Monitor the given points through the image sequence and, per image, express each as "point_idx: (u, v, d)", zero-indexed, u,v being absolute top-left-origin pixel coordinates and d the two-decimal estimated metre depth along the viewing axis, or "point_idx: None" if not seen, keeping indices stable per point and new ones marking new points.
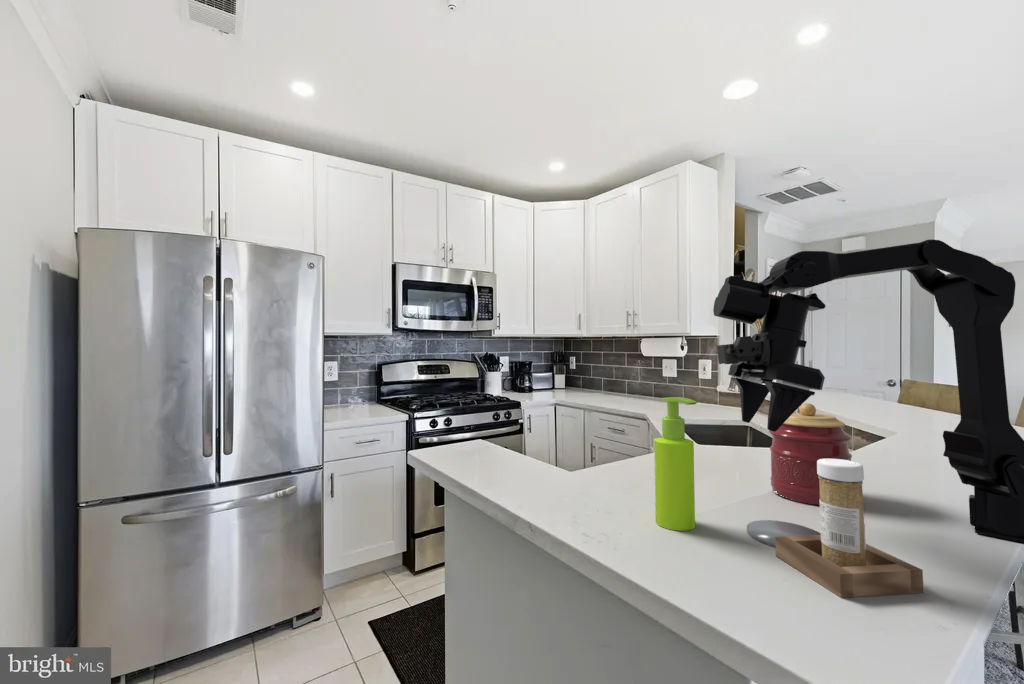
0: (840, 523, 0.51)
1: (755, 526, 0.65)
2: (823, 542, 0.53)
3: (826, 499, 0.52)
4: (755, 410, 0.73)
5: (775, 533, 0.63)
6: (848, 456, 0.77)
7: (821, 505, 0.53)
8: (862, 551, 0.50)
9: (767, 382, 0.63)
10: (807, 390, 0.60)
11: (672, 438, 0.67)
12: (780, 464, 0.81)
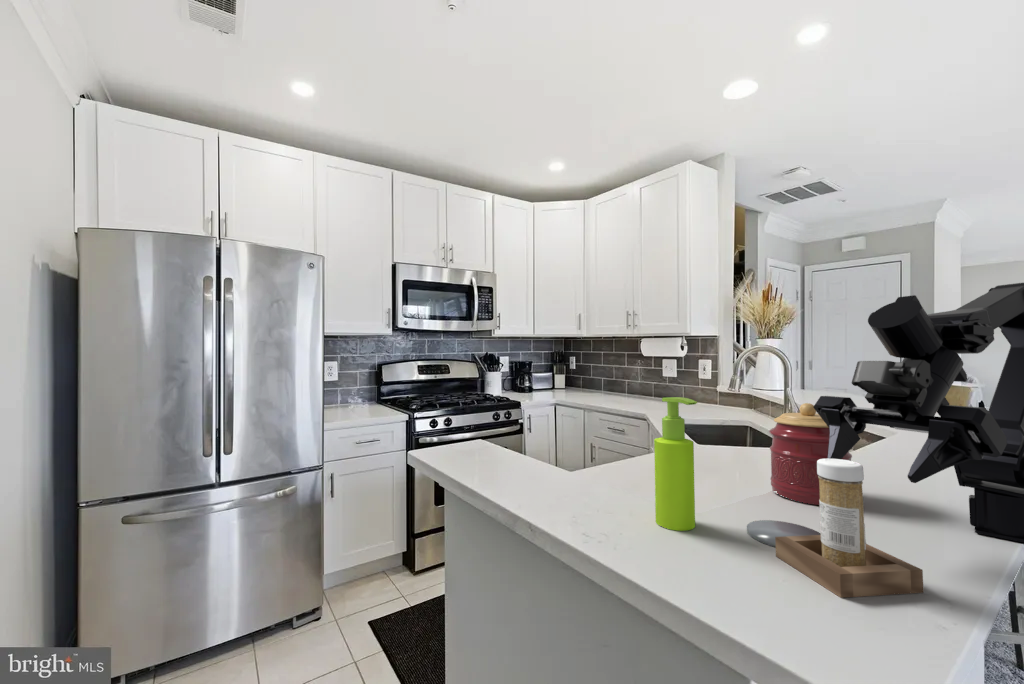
0: (840, 523, 0.51)
1: (755, 526, 0.65)
2: (823, 542, 0.53)
3: (826, 499, 0.52)
4: (843, 454, 0.59)
5: (775, 533, 0.63)
6: (848, 456, 0.77)
7: (821, 505, 0.53)
8: (862, 551, 0.50)
9: (941, 421, 0.50)
10: (980, 451, 0.49)
11: (672, 438, 0.67)
12: (780, 464, 0.81)
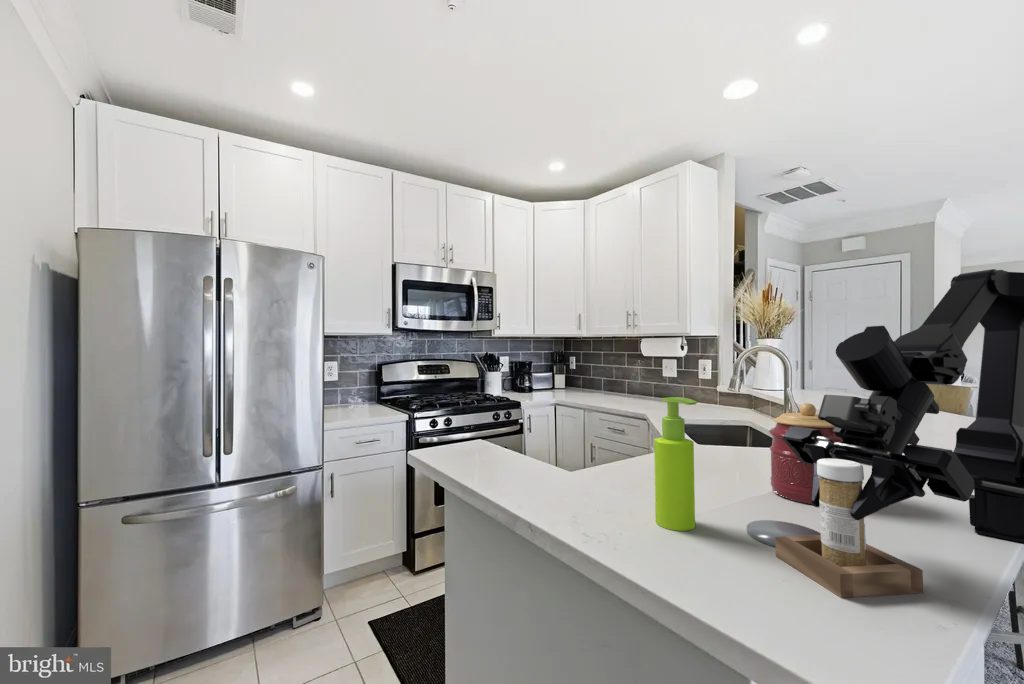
0: (840, 523, 0.51)
1: (755, 526, 0.65)
2: (823, 542, 0.53)
3: (826, 499, 0.52)
4: None
5: (775, 533, 0.63)
6: None
7: (821, 505, 0.53)
8: (862, 551, 0.50)
9: (883, 459, 0.49)
10: (921, 488, 0.49)
11: (672, 438, 0.67)
12: (780, 464, 0.81)
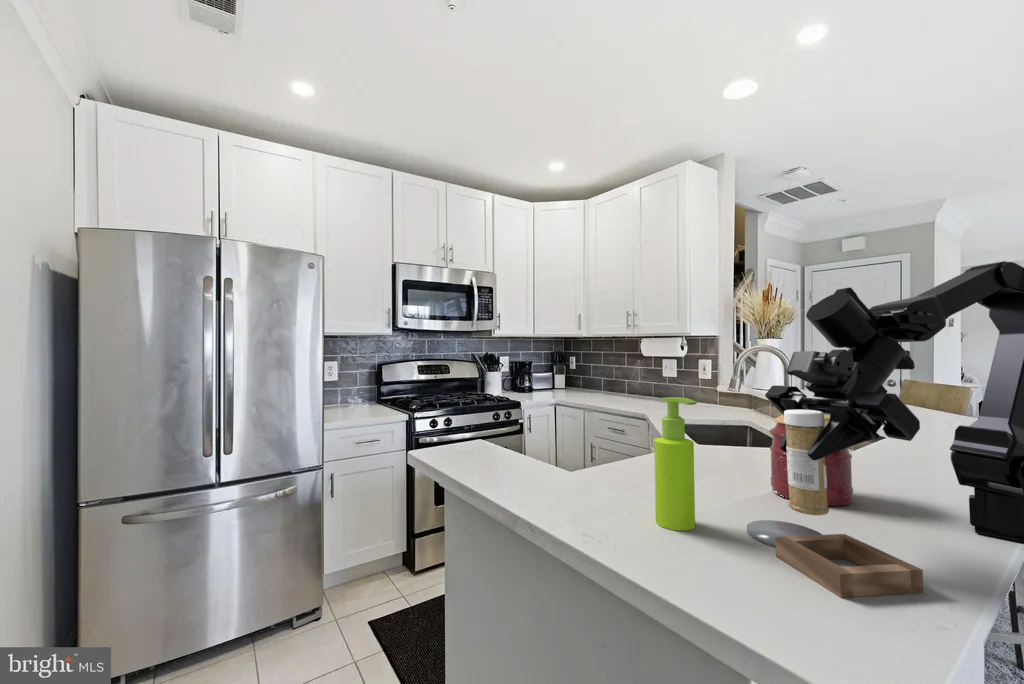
0: (800, 464, 0.57)
1: (755, 526, 0.65)
2: (788, 482, 0.59)
3: (790, 444, 0.58)
4: None
5: (775, 533, 0.63)
6: (848, 456, 0.77)
7: (787, 450, 0.59)
8: (821, 489, 0.56)
9: (838, 405, 0.55)
10: (875, 431, 0.54)
11: (672, 438, 0.67)
12: (780, 464, 0.81)
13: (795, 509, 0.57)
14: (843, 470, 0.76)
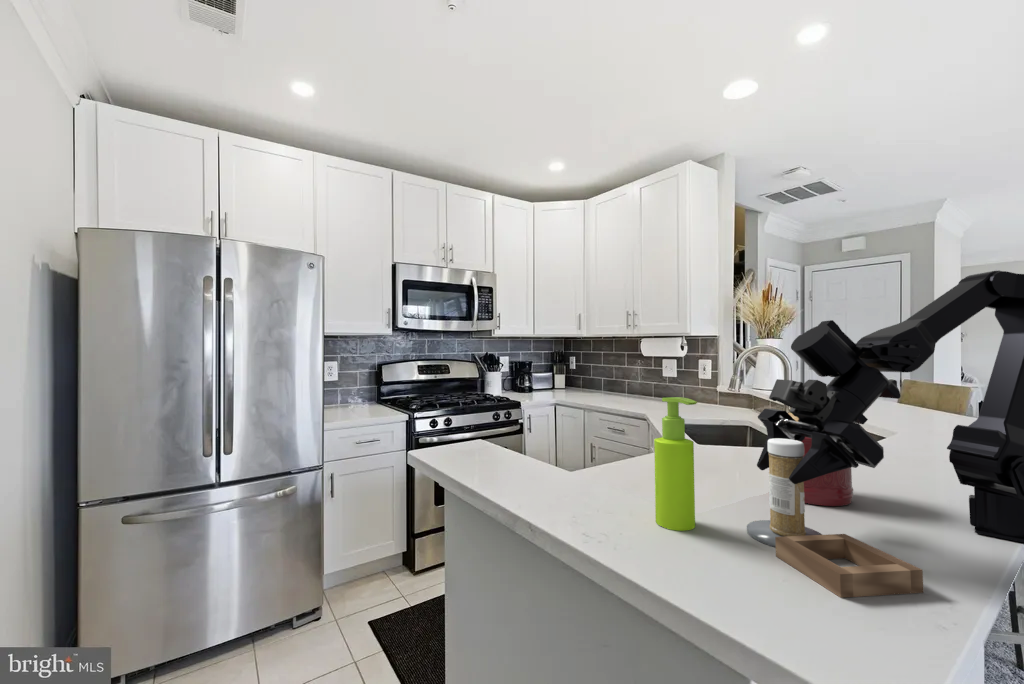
0: (778, 490, 0.62)
1: (755, 526, 0.65)
2: (770, 506, 0.64)
3: (771, 470, 0.63)
4: None
5: (775, 533, 0.63)
6: None
7: (769, 475, 0.64)
8: (797, 514, 0.61)
9: (818, 433, 0.58)
10: (853, 460, 0.56)
11: (672, 438, 0.67)
12: None
13: (773, 530, 0.63)
14: (843, 470, 0.76)
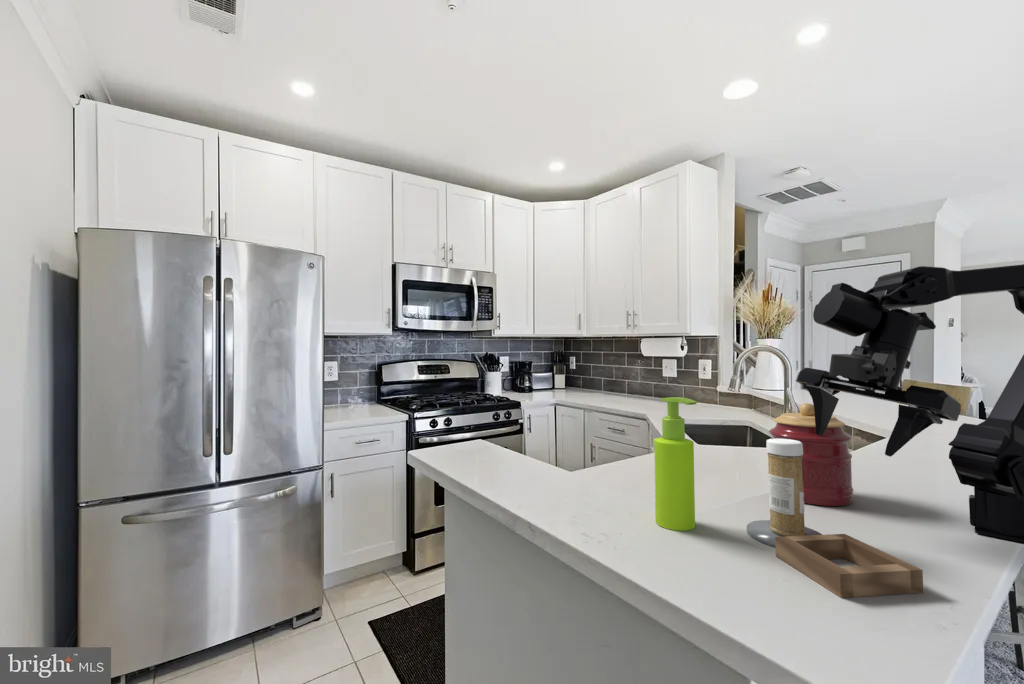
0: (778, 490, 0.62)
1: (755, 526, 0.65)
2: (769, 506, 0.64)
3: (770, 470, 0.63)
4: (827, 423, 0.69)
5: (775, 533, 0.63)
6: (848, 456, 0.77)
7: (768, 475, 0.64)
8: (797, 514, 0.61)
9: (909, 407, 0.58)
10: (940, 419, 0.58)
11: (672, 438, 0.67)
12: None
13: (773, 531, 0.63)
14: (843, 470, 0.76)
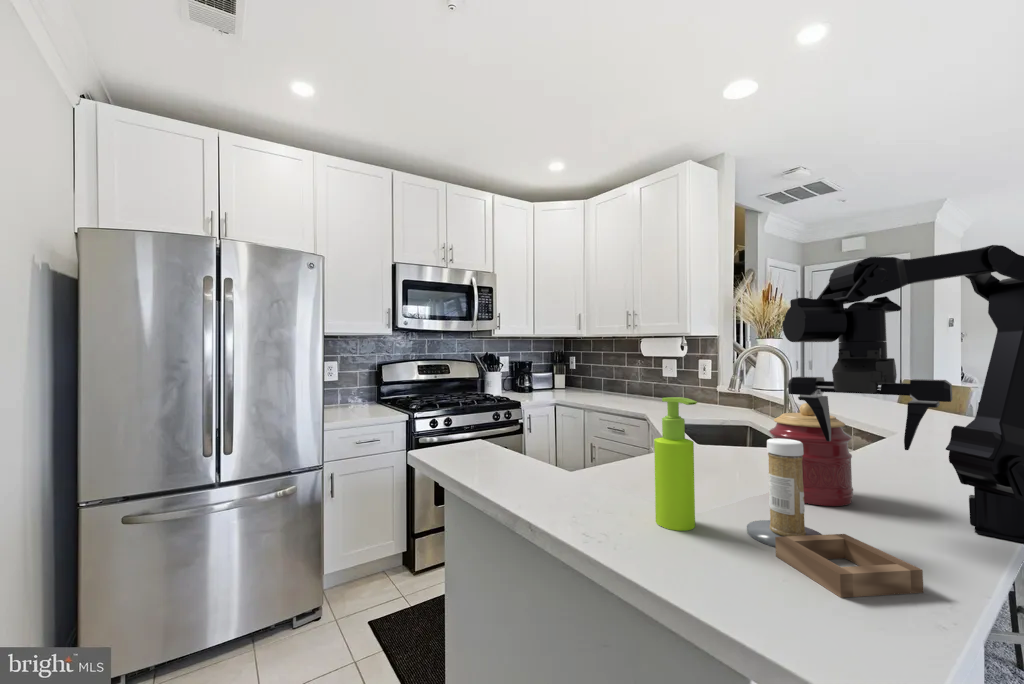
0: (778, 490, 0.62)
1: (755, 526, 0.65)
2: (769, 506, 0.64)
3: (770, 470, 0.63)
4: (830, 425, 0.69)
5: (775, 533, 0.63)
6: (848, 456, 0.77)
7: None
8: (797, 514, 0.61)
9: (919, 404, 0.59)
10: (938, 402, 0.61)
11: (672, 438, 0.67)
12: None
13: (773, 530, 0.63)
14: (843, 470, 0.76)
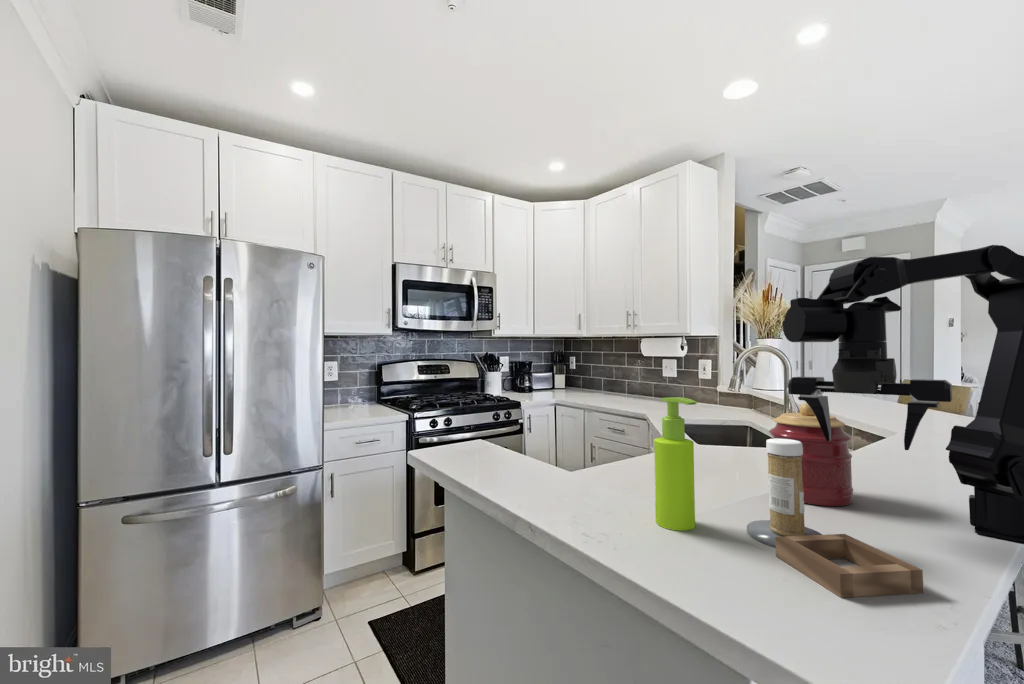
0: (777, 490, 0.62)
1: (755, 526, 0.65)
2: (769, 506, 0.64)
3: (770, 470, 0.63)
4: (830, 425, 0.69)
5: (775, 533, 0.63)
6: (848, 456, 0.77)
7: (768, 475, 0.64)
8: (797, 514, 0.61)
9: (919, 404, 0.59)
10: (938, 402, 0.61)
11: (672, 438, 0.67)
12: None
13: (773, 531, 0.63)
14: (843, 470, 0.76)
